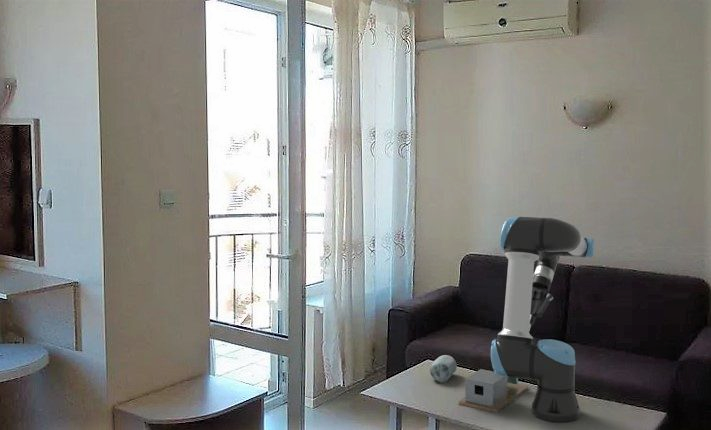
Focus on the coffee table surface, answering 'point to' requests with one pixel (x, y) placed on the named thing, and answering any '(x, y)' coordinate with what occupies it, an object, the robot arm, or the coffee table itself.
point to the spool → (443, 368)
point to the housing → (490, 391)
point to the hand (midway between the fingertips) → (525, 330)
